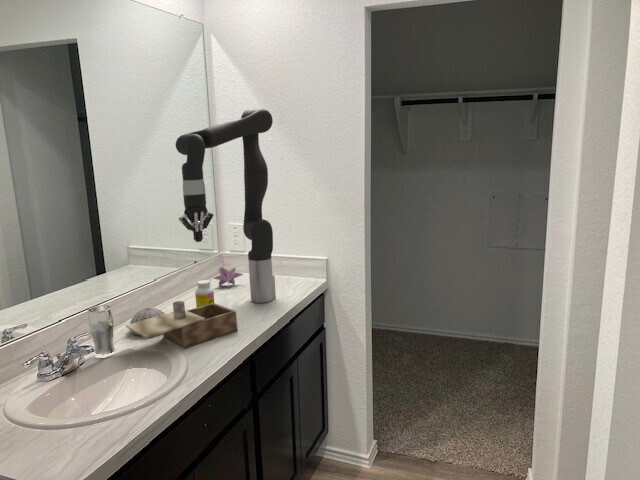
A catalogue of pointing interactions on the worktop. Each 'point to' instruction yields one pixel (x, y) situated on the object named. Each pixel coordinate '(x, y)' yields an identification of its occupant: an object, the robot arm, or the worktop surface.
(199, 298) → the supplement bottle
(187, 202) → the robot arm
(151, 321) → the lid
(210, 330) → the walnut box
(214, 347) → the worktop surface
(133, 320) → the sea urchin shell
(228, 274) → the lily
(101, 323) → the beer glass
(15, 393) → the worktop surface
